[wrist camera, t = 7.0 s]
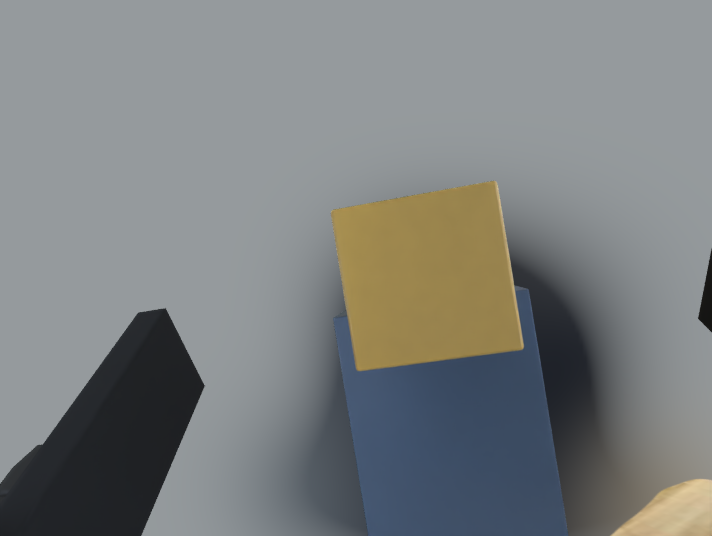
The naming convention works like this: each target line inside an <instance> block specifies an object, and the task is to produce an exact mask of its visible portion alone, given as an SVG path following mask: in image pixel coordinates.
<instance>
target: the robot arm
mask: <svg viewBox="0 0 712 536" xmlns="http://www.w3.org/2000/svg"><path fill="white" fill-rule="evenodd" d="M698 319H699V320H700V321H701V322H702V323H703V324H704V325H705V326H706V327H707V328H708V329H709V330H710V331H711V332H712V250H711V255H710V260H709V265H708V271H707V276H706V281H705V286H704V291H703V297H702V302H701V307H700V312H699V317H698ZM203 388H204V384H203V382H202V380H201V378H200V376H199V374H198V372H197V370H196V368H195V366H194V364H193V362H192V360H191V358H190V356H189V354H188V352H187V350H186V348H185V346H184V344H183V342H182V340H181V338H180V336H179V334H178V332H177V330H176V328H175V326H174V324H173V322H172V320H171V318H170V316H169V314H168V312H167V310H166V309H158V310H152V311H146V312H140V313H138V314H137V315H136V316H135V318H134V319H133V321H132V322H131V324H130V325H129V326H128V328H127V329H126V330H125V332H124V333H123V334H122V336H121V337H120V339H119V340H118V342H117V343H116V344H115V346H114V347H113V348H112V350H111V351H110V353H109V354H108V355H107V357H106V358H105V359H104V361H103V362H102V364H101V365H100V366H99V368H98V369H97V370H96V372H95V373H94V375H93V376H92V377H91V379H90V380H89V382H88V383H87V384H86V386H85V387H84V389H83V390H82V391H81V393H80V394H79V395H78V397H77V398H76V399H75V401H74V402H73V404H72V405H71V407H70V408H69V409H68V411H67V412H66V413H65V415H64V416H63V417H62V419H61V420H60V422H59V423H58V424H57V426H56V427H55V429H54V430H53V431H52V433H51V434H50V435H49V437H48V438H47V440H46V441H45V442H44V444H43V445H37V446H36V447H35V448H34V449H33V450H32V451H31V452H29V453H28V454H27V455H26V456H25V457H24V458H23V459H22V460H21V461H20V462H18V463H17V464H16V465H15V466H14V467H13V468H12V469H11V471H10V472H9V473H8V474H7V476H6V477H5V478H4V480H3V481H2V482H1V484H0V536H141V535H142V533H143V530H144V528H145V525H146V523H147V521H148V518H149V516H150V514H151V511H152V509H153V507H154V504H155V502H156V499H157V497H158V495H159V492H160V490H161V488H162V485H163V483H164V481H165V478H166V476H167V473H168V471H169V469H170V466H171V464H172V462H173V459H174V457H175V455H176V452H177V450H178V448H179V445H180V443H181V440H182V438H183V435H184V433H185V431H186V428H187V426H188V424H189V422H190V419H191V417H192V414H193V412H194V410H195V407H196V405H197V403H198V400H199V398H200V395H201V393H202V391H203Z"/></svg>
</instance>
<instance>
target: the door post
mask: <svg viewBox="0 0 712 536" xmlns="http://www.w3.org/2000/svg"><path fill="white" fill-rule="evenodd" d="M514 288H515V295H516V301H517V307H518V313H519V319H520V325H521V331H522V338H523V344H524V347H523V349H522V350H519V351H511V352H503V353H496V354H488V355H481V356H473V357H465V358H458V359H450V360H442V361H435V362H427V363H420V364H412V365H404V366H397V367H389V368H382V369H374V370H366V371H357V369H356V366H355V360H354V354H353V348H352V341H351V335H350V329H349V323H348V317H347V310H345V311H343V312H342V313H340V314H339V315H337V316H336V317H334V318H333V320H334V327H335V333H336V339H337V345H338V351H339V357H340V364H341V370H342V376H343V382H344V388H345V394H346V401H347V407H348V413H349V420H350V425H351V432H352V438H353V444H354V451H355V457H356V463H357V469H358V476H359V482H360V488H361V494H362V500H363V506H364V513H365V519H366V525H367V531H368V536H568V529H567V524H566V517H565V511H564V505H563V499H562V492H561V486H560V480H559V474H558V468H557V462H556V455H555V450H554V444H553V437H552V431H551V425H550V419H549V412H548V406H547V400H546V394H545V388H544V382H543V376H542V369H541V363H540V357H539V351H538V345H537V339H536V332H535V326H534V321H533V315H532V308H531V302H530V295H529V290H528V289H525V288H522V287H518V286H514Z"/></svg>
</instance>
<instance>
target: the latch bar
mask: <svg viewBox="0 0 712 536" xmlns="http://www.w3.org/2000/svg"><path fill="white" fill-rule="evenodd" d="M331 217H332V223H333V230H334V236H335V242H336V248H337V254H338V261H339V267H340V273H341V279H342V286H343V292H344V298H345V304H346V310H347V317H348V323H349V329H350V335H351V341H352V348H353V354H354V360H355V366H356V369H357V371H366V370H374V369H382V368H389V367H397V366H404V365H412V364H420V363H427V362H435V361H442V360H450V359H458V358H465V357H473V356H481V355H488V354H496V353H503V352H511V351H519V350H522V349H523V347H524V344H523V338H522V331H521V325H520V319H519V313H518V307H517V301H516V295H515V288H514V282H513V276H512V270H511V264H510V258H509V252H508V245H507V239H506V233H505V227H504V221H503V214H502V208H501V202H500V196H499V190H498V184H497V182H496V181H490V182H485V183H479V184H473V185H468V186H462V187H457V188H451V189H445V190H441V191H435V192H429V193H423V194H418V195H412V196H407V197H401V198H396V199H390V200H384V201H379V202H373V203H368V204H363V205H357V206H351V207H346V208H341V209H334V210H332V212H331Z"/></svg>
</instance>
